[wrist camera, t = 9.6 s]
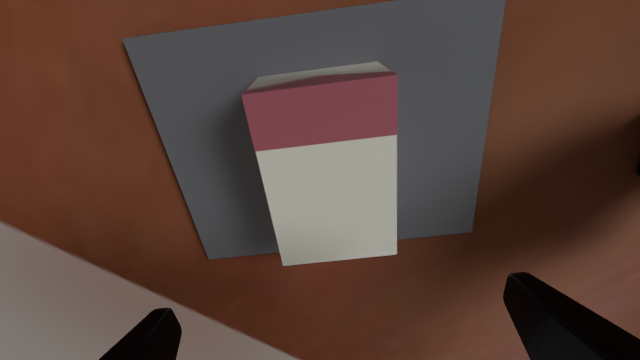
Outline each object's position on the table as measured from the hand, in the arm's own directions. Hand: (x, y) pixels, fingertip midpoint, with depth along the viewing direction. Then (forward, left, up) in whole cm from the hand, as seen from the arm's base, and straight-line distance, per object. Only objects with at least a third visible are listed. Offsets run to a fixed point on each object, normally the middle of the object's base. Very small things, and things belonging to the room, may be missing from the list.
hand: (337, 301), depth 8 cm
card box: (0, 0, -10) cm, 10 cm away
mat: (0, 0, -11) cm, 11 cm away
